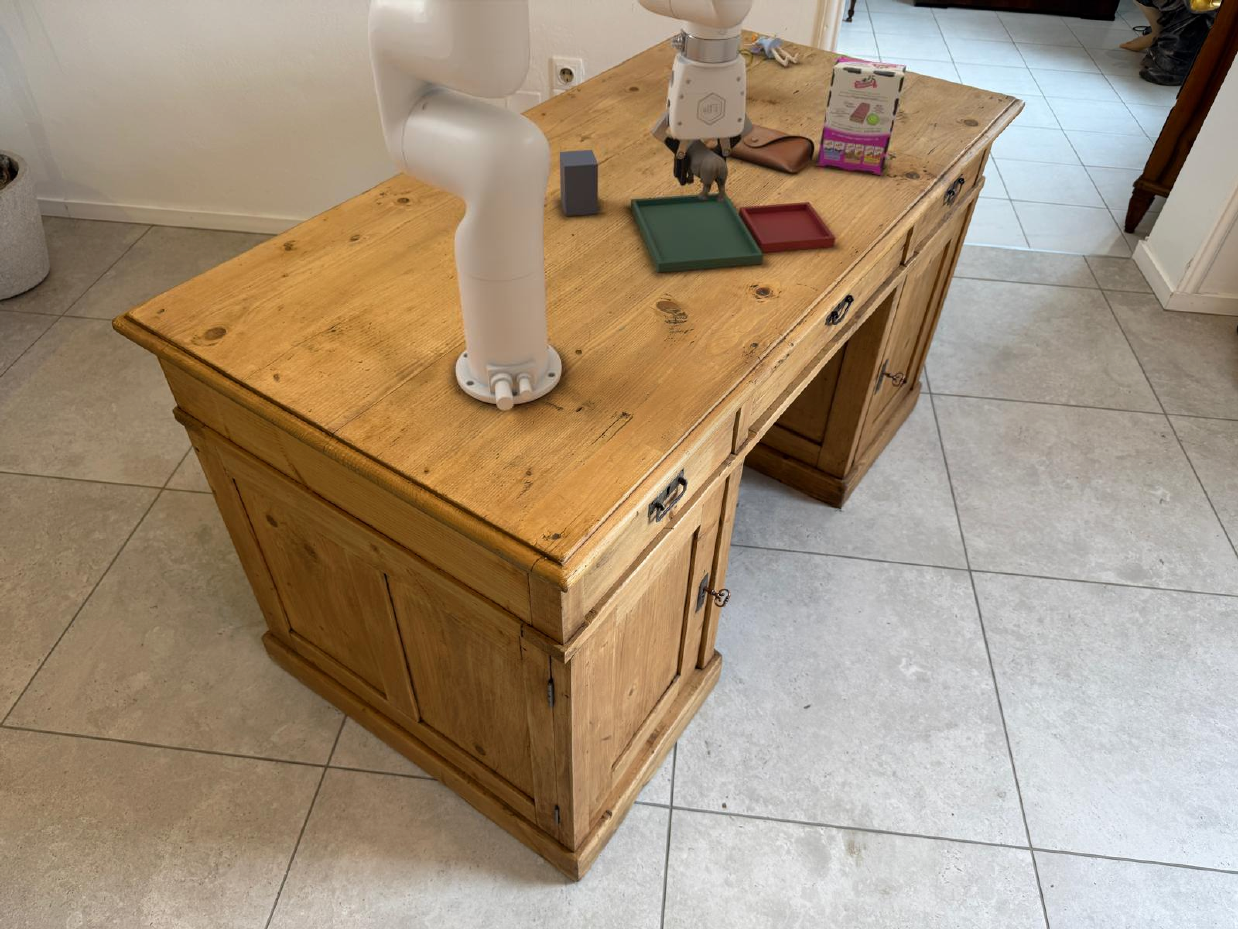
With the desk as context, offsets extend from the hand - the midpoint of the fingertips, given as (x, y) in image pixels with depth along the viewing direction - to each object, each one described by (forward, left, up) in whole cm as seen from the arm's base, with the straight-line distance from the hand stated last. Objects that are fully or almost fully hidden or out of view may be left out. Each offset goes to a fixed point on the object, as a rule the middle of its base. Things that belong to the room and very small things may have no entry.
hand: (698, 178), depth 125 cm
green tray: (0, 0, -9) cm, 9 cm away
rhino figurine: (0, 0, -1) cm, 1 cm away
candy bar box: (+19, -32, -9) cm, 39 cm away
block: (+11, +16, -9) cm, 21 cm away
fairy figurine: (+71, -35, -9) cm, 80 cm away
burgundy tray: (-1, -14, -9) cm, 17 cm away
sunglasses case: (+25, -18, -9) cm, 32 cm away
